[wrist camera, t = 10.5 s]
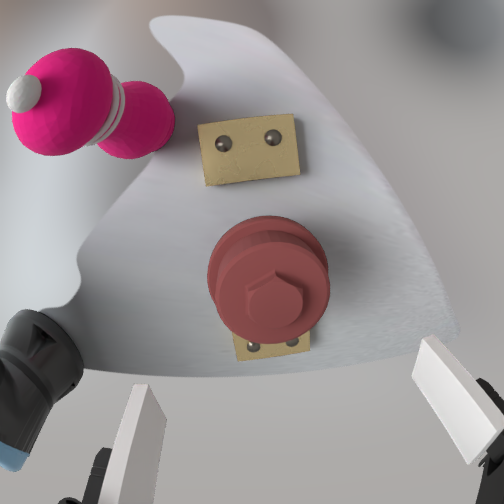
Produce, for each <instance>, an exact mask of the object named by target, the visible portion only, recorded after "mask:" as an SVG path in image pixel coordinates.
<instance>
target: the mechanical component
mask: <svg viewBox="0 0 504 504" xmlns="http://www.w3.org/2000/svg"><path fill="white" fill-rule="evenodd" d="M207 281H208V288H209V292H210V295H211V297H212V300H213V301H214V303H215V305H216V307H217V311H218V313H219V316H220V318H221V319H222V321H223V322H224V324H225V325H226V326H227V327H228V328H229V329H230V330H231V331H232V332H233V333H235V334H236V335H237V336H239V337H241V338H243V339H245V340H248V341H251V342H255V343H259V344H278V343H284V342H287V341H290V340H293V339H295V338H297V337H300V336H301V335H303V334H305V333H306V332H307V331H309V330H310V329H311V328H312V327H313V326H314V325H315V324H316V323H317V322H318V321H319V320H320V318H321V317H322V315H323V314H324V312H325V310H326V308H327V305H328V302H329V297H330V282H329V277H328V263H327V258H326V255H325V252H324V250H323V248H322V247H321V245H320V243H319V242H318V241H317V239H316V238H315V237H314V236H313V235H312V234H311V233H310V232H309V231H308V230H307V229H306V228H305V227H303V226H302V225H300V224H299V223H297V222H295V221H293V220H290V219H288V218H284V217H280V216H259V217H254V218H251V219H248V220H245V221H243V222H241V223H239V224H237V225H235V226H234V227H232V228H231V229H230V230H228V231H227V232H226V233H225V234H224V235H223V236H222V237H221V239H220V240H219V241H218V243H217V244H216V246H215V248H214V250H213V252H212V255H211V257H210V262H209V266H208V273H207Z"/></svg>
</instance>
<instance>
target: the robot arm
mask: <svg viewBox="0 0 504 504" xmlns="http://www.w3.org/2000/svg"><path fill="white" fill-rule="evenodd" d="M82 375H83V362H82V359H81V356H80V354H79V352H78V350H77V348H76V346H75V345H74V343H73V342H72V340H71V339H70V338H69V336H68V335H67V334H66V333H65V332H64V331H63V330H62V329H61V328H60V327H59V326H58V325H57V324H56V323H55V322H54V321H52V320H51V319H50V318H48V317H47V316H45V315H43V314H41V313H39V312H37V311H34V310H28V309H27V310H21V311H19V312H18V313H17V314H16V315H14V316H13V317H12V318H11V319H10V321H9V322H8V324H7V327H6V329H5V332H4V334H3V337H2V339H1V342H0V466H1V467H3V468H5V469H6V470H9V471H13V472H16V471H19V470H20V469H21V468H22V466H23V464H24V462H25V461H26V459H27V457H29V456H30V452H31V450H32V448H33V445H34V443H35V441H36V439H37V437H38V435H39V432H40V430H41V428H42V426H43V424H44V422H45V420H46V418H47V416H48V414H49V412H50V410H51V409H52V407H53V405H54V404H55V403H56V402H57V401H59V400H60V399H61V398H63V397H64V396H65V395H67V394H68V393H69V392H70V391H72V390H73V389H74V388H75V387H76V386H77V385H78V383H79V381H80V379H81V378H82ZM411 377H412V378H413V380H414V381H415V383H416V384H417V386H418V387H419V389H420V390H421V392H422V393H423V395H424V396H425V398H426V399H427V401H428V402H429V404H430V405H431V407H432V408H433V410H434V411H435V413H436V414H437V416H438V417H439V419H440V421H441V422H442V423H443V425H444V427H445V428H446V430H447V432H448V433H449V435H450V436H451V438H452V440H453V441H454V443H455V445H456V446H457V448H458V450H459V451H460V453H461V455H462V456H463V458H464V460H465V461H466V463H467V465H469V464H471V463H472V462H474V461H475V460H477V459H478V458H480V457H481V456H482V454H483V453H484V452H485V451H487V453H488V454H487V455H486V456H485V457H484V458H483V459H482V460H481V462H480V463H479V467H480V466H481V465H482V464H483V463H484V462H485V464H484V465H483V467H484V470H483V475H482V480H481V484H480V489H479V493H478V496H477V500H476V504H504V400H503V399H502V398H501V397H499V394H498V393H497V392H496V391H494V389H493V387H492V386H491V385H490V384H489V383H488V382H486V381H485V380H483V379H481V378H479V379H477V380H475V379H474V378H473V377H472V376H471V375H470V374H469V372H468V371H467V370H466V369H465V368H464V367H463V366H462V364H461V363H460V362H459V361H458V360H457V359H456V358H455V357H454V355H452V353H451V352H450V351H449V350H448V349H447V348H446V347H445V346H444V344H443V343H442V342H441V341H440V340H439V339H438V338H437V337H436V336H435V335H434V334H432V335H429V336H427V337H424V338H422V341H421V345H420V349H419V352H418V356H417V360H416V363H415V367H414V370H413V373H412V376H411ZM166 421H167V419H166V417H165V415H164V413H163V412H162V410H161V408H160V406H159V404H158V402H157V400H156V399H155V397H154V395H153V393H152V391H151V389H150V387H149V385H148V384H134V385H133V388H132V390H131V393H130V396H129V399H128V402H127V405H126V408H125V411H124V414H123V417H122V420H121V423H120V426H119V430H118V433H117V436H116V439H115V443H114V446H113V449H110V448H102V449H101V450H100V451H99V452H98V454H97V455H96V457H95V460H94V463H93V467H92V469H91V475H90V476H89V480H88V483H87V486H86V490H85V493H84V497H83V500H82V503H81V502H80V501H78V500H77V499H74V498H70V497H69V498H64V499H62V500H60V501H59V503H58V504H153V500H154V494H155V487H156V480H157V473H158V466H159V461H160V454H161V448H162V443H163V437H164V432H165V426H166Z"/></svg>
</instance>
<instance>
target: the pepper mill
mask: <svg viewBox="0 0 504 504" xmlns="http://www.w3.org/2000/svg"><path fill="white" fill-rule="evenodd" d="M6 97H7V99H6V100H7V104H8V107H9V108H10V109H11V110H12V122H13V126H14V130H15V132H16V134H17V136H18V138H19V140H20V141H21V142H22V144H23V145H24V146H26V147H27V148H29V149H30V150H32V151H34V152H35V153H38V154H42V155H46V156H57V155H64V154H68V153H71V152H73V151H75V150H77V149H79V148H81V147H83V146H90V145H94V144H98V145H99V147H100V148H101V149H103V150H104V151H105V152H107V153H108V154H110V155H112V156H115V157H117V158H123V159H135V158H140V157H142V156H145V155H147V154H149V153H151V152H154V151H156V150H158V149H160V148H161V147H162V146H163V145H165V144H166V142H167V141H168V140H169V139H170V137H171V135H172V133H173V130H174V126H175V116H174V112H173V110H172V108H171V106H170V104H169V102H168V99H167V98H166V96H165V95H164V94H163V92H162V91H161V90H159V89H158V88H157V87H155V86H153V85H151V84H149V83H146V82H142V81H131V82H124V83H120V82H119V80H118V79H117V78H116V77H115V76H113V75H112V74H110V71H109V69H108V67H107V66H106V64H105V63H104V61H103V60H101V59H100V58H99V57H98V56H97V55H95V54H94V53H92V52H89V51H86V50H83V49H78V48H68V49H61V50H58V51H54V52H52V53H50V54H48V55H46V56H44V57H42V58H41V59H40V60H39V61H37V62H36V63H35V64H34V65H33V66H32V67H31V68H30V69H29V70H28V71H27V72H26V74H25V75H23V76H21V77H19V78H17V79H16V80H15V81H14V82H13V83H12V84H11V86H10V88H9V89H8V92H7V96H6Z"/></svg>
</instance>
